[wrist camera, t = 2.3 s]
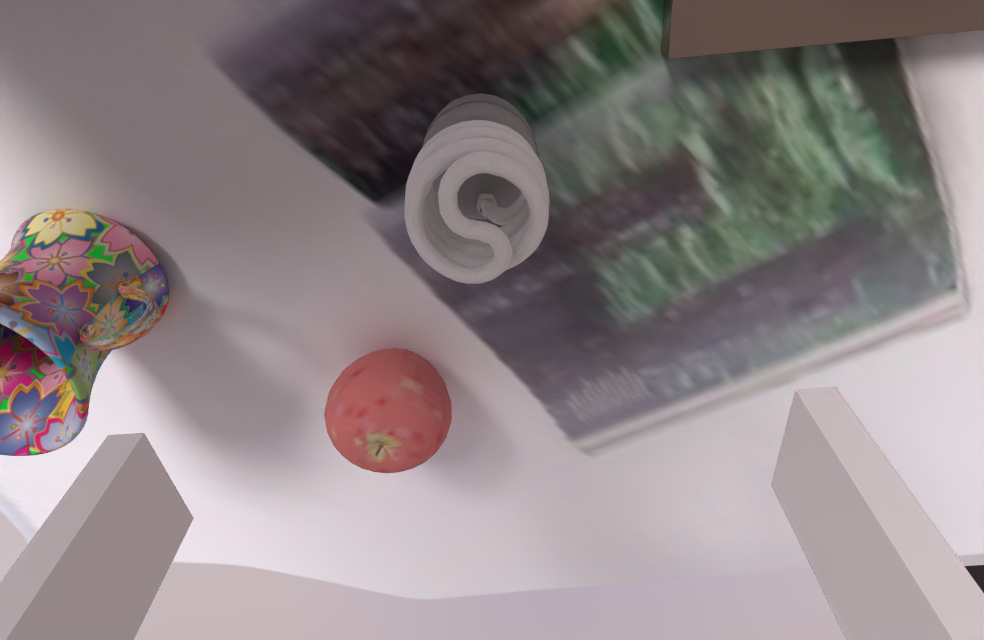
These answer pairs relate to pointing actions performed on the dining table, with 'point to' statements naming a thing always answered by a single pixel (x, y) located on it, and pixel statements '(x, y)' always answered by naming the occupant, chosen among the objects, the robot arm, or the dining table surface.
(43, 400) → the mug
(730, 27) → the lamp base
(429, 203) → the light bulb
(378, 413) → the apple
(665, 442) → the dining table surface
